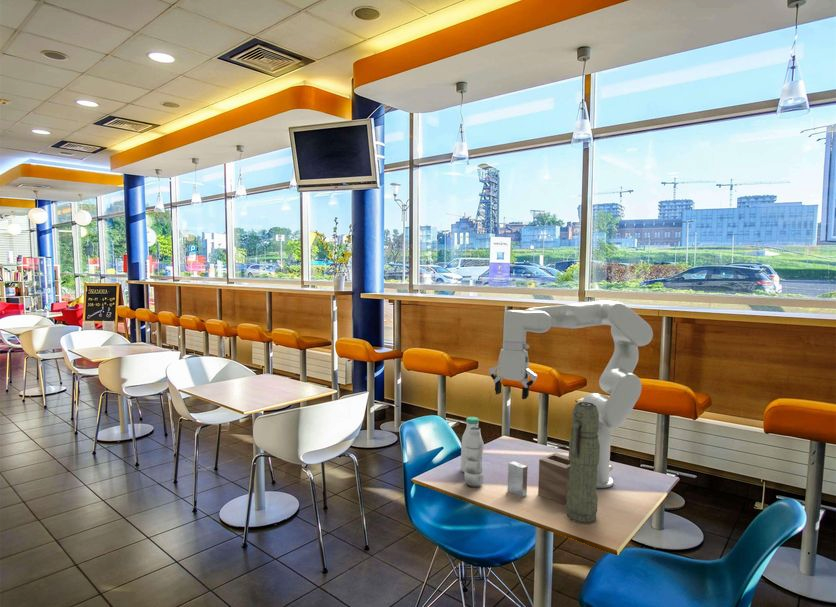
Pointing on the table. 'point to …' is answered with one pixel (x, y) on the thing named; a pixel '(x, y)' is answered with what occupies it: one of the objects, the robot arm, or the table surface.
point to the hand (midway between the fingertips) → (511, 396)
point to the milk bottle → (470, 423)
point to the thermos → (583, 464)
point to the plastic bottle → (474, 458)
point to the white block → (517, 479)
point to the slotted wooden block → (554, 477)
